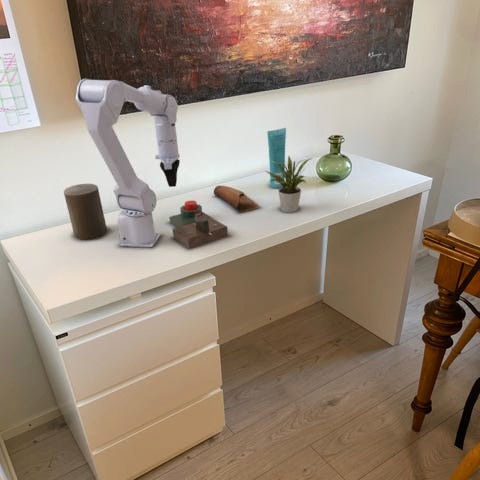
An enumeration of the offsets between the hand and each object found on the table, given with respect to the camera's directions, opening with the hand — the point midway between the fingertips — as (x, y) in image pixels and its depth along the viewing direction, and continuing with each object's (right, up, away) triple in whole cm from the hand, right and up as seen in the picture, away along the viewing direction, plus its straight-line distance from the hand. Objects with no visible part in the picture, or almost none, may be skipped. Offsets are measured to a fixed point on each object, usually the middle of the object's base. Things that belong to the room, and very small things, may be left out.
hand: (172, 185), depth 150 cm
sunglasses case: (+19, -2, +15) cm, 24 cm away
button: (+5, -7, +2) cm, 9 cm away
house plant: (+37, -5, +9) cm, 38 cm away
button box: (+5, -11, +2) cm, 12 cm away
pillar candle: (-24, -15, -1) cm, 28 cm away
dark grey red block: (+10, -15, -9) cm, 20 cm away
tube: (+33, +7, +26) cm, 43 cm away
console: (+9, -17, -7) cm, 20 cm away
